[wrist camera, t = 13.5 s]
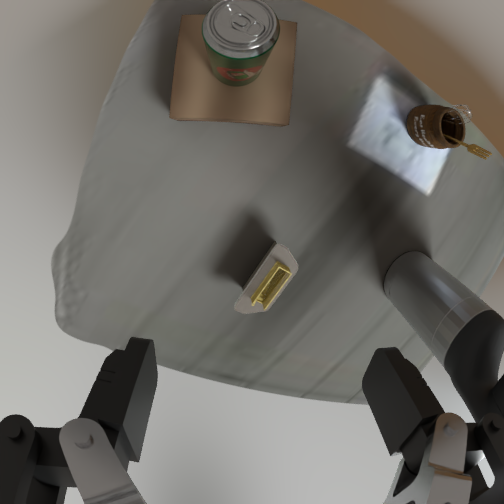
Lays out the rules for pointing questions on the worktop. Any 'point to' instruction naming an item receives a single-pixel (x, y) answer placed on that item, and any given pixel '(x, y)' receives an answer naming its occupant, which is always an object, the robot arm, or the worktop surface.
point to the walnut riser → (228, 97)
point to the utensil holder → (440, 128)
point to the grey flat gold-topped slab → (267, 280)
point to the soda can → (239, 39)
